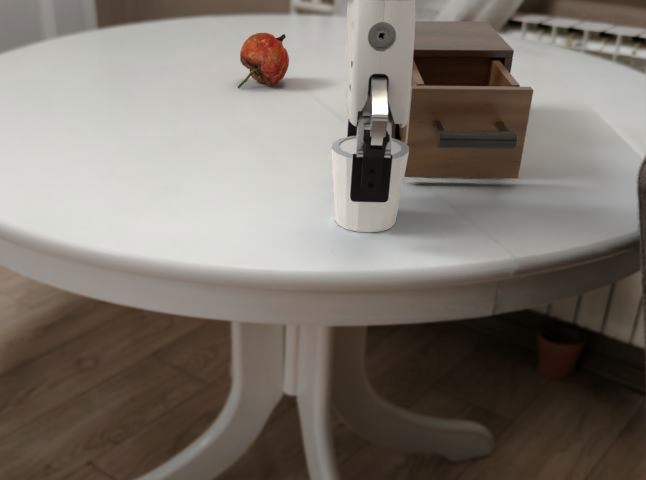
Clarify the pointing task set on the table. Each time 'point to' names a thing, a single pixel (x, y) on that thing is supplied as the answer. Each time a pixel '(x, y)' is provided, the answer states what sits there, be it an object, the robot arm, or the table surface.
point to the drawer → (465, 119)
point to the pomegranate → (264, 58)
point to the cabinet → (458, 44)
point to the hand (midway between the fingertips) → (365, 180)
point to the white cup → (365, 213)
